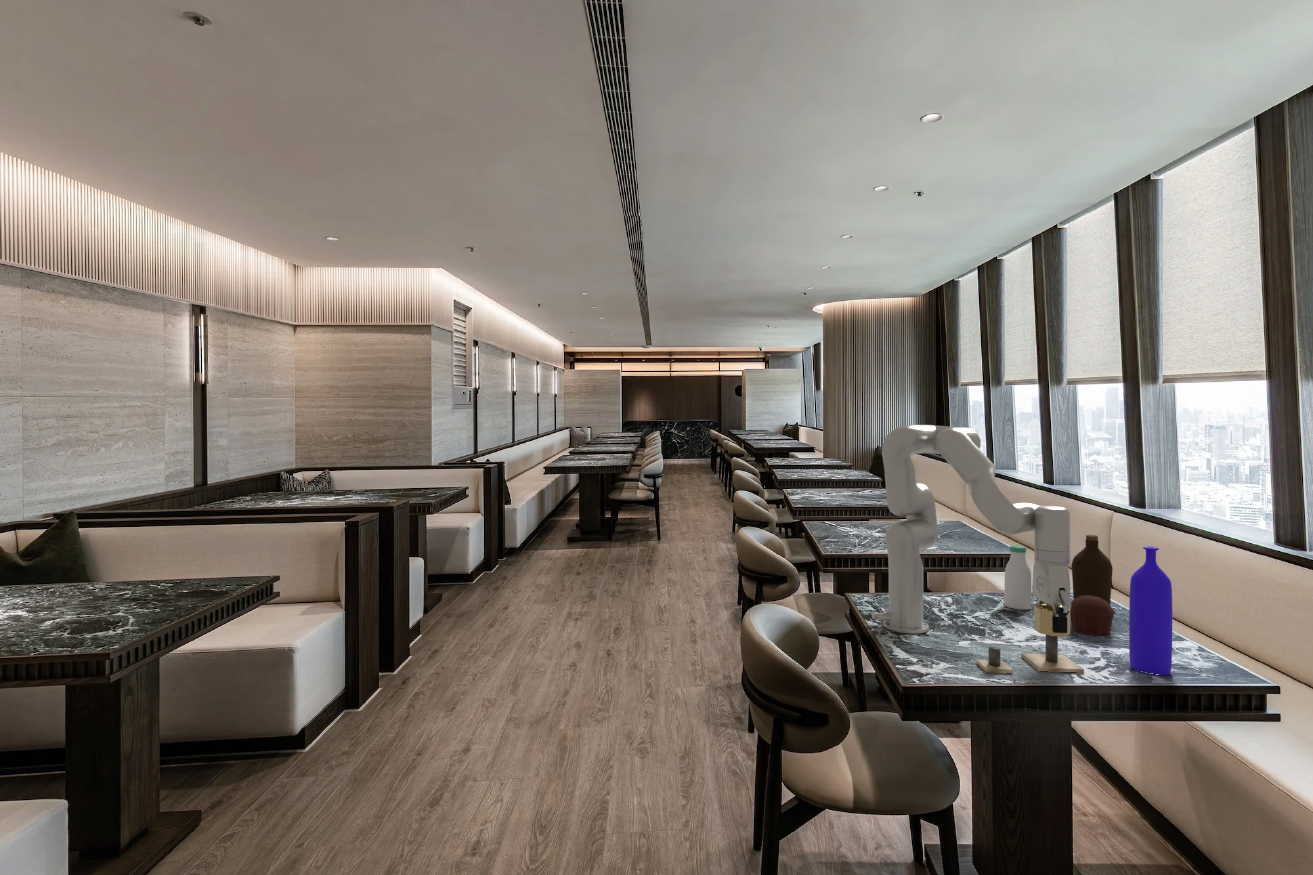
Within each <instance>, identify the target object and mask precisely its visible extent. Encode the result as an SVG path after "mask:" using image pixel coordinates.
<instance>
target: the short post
mask: <svg viewBox="0 0 1313 875" xmlns="http://www.w3.org/2000/svg"><path fill="white" fill-rule="evenodd" d="M987 650H988V659H976V664H977V665H978V666H979V667H980V668H981V669H982V670H983V671H984V672H985V673H986V672H987V674H1006V673H1013V670H1014V669H1013V668H1011V667H1010V666H1009V665H1008V664H1007V663H1006V662H1005V661H1003V660H1001V648H1000V647H997V646H988V649H987ZM988 672H989V673H988Z"/></svg>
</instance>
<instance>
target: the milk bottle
mask: <svg viewBox="0 0 1313 875" xmlns="http://www.w3.org/2000/svg"><path fill="white" fill-rule="evenodd" d="M1009 553H1010V556H1009V560H1008V561H1007V563H1006V566H1005V570H1004V606H1005V607H1006V606H1007V607H1006V608H1009V609H1012V608H1013V609H1014V610H1018V611H1019V610H1021V611H1028V610H1031V609H1032V601H1033V600H1032V597H1033V594H1032V570H1031V567H1030V565H1029V563H1028V561H1027V558H1026V555H1027V547H1026V546H1023V545H1010V546H1009ZM1013 609H1012V610H1013Z"/></svg>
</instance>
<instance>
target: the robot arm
mask: <svg viewBox="0 0 1313 875" xmlns="http://www.w3.org/2000/svg"><path fill="white" fill-rule="evenodd" d="M981 442H982V441H981V438H980V436H979V435H978V433H977V431H975V430H974V429H972V428H970V427H963V426H962V427H961V426H960V427H957V426H946V425H933V424H906V425H901V426H898V427H896V428H894V429H893V430H891V431H889V433H888V434H887V435H886V436H885V438H884V440H883V443H882V446H881V455H882V463H883V469H884V470H883V471H884V481H885V492H886V494H885V495H886V503H887V507H888V510H889V512H891V513H892V514H893V515H895V516H898V517H905V518H906V519H904V520H900V521H896V522H894V523H892V524H891V525H890V526H889V527H888V528H887V531H886V533H885V544H886V545H885V546H886V550H887V557H888V558H887V559H888V560H887V561H888V608H886V609H885V611H883V612H871V617H872V620H878V621H881V622H883V625H882V626H883V627H884V628H885V629H887V630H889V631H892V632H896V633H901V634H909V635H911V634H915V635H917V634H924V633H926V632H928V631H929V630H930V626H929V624H928V623H927V622H925V621H924V564H923V561H922V557H921V553H920V551H924V550H925V551H926V550H928V549H930V548H932V547H933V546H934V545H935V544H936V542H937V539H938V535H939V534H938V531H939V530H938V528H939V527H938V520H937V519H938V518H937V508H936V500H935V497H934V493H933V492H932V490H931V489H930V487H929V486H927V485H926V484H924V483H921V482H917V479H916V469H915V465H914V463H913V460H912V459H911V456H913V455H914V454H936V455H941V456H942V458H944V460H945V461H946V463H947V464H949V465H950V467H951V468H952V469H953V471H955V472H956V473H957V474H958V476H959V477H960V478H961V479H962V480H963V481H964V483H965V484H966V485H967V487H968V490H969V494H970V496H971V499H972V501H973V503H974V504H975V506H976V508H977V509H978V510H979V512H980V513H981V514H982V516H984V517H985V519H986V520H987V521H988V522H989V523H990V524H991V525H992V526H993V527H994V529H996V530H997V531H998V532H1000V533H1002V534H1005V535H1008V536H1009V535H1010V536H1013V535H1019V534H1023V533H1028V532H1034V533H1033V534H1034V538H1033V540H1034V543H1033V544H1034V560H1033V561H1034V563H1033V572H1032V580H1031V583H1032V597H1034V598H1036V605H1038V604H1048V605H1052V608H1053V612H1054V616H1052V631H1053V632H1054V633H1067V617H1068V613H1069V610H1070V608H1071V580H1070V570H1069V565H1071V514H1070V511H1069V509H1067V508H1066V507H1063V506H1057V505H1038V504H1035V503H1029V502H1016V503H1012V502H1011V501H1010V500H1009V499H1008V498H1007V497H1006V496H1005V494H1004V493H1003V492H1002V491H1001V489H1000V488H999V486H998V484H997V483H996V482H997V481H996V478H995V477H996V471H997V470H996V466H995V464H994V463H993V462H992V461H991V460H990V459H989V457H988V456H986V454H984V452H983V451H982V450H981V449H980V448H981V444H982V443H981ZM1057 607H1060V608H1059V610H1058V609H1057ZM1061 607H1062V608H1061Z"/></svg>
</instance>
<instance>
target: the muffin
mask: <svg viewBox="0 0 1313 875" xmlns="http://www.w3.org/2000/svg"><path fill="white" fill-rule="evenodd" d="M1070 603H1071V608H1070V624H1071V627H1072V628H1071V629H1072V630H1074V631H1075V632H1076V633H1079V634H1084V635H1086V636H1095V637H1107V636H1108V635H1110V633H1111V629H1112V626H1113V620H1114V615H1115V614H1116V612H1115V610H1114V608H1113V607H1112V606H1111V604H1110V605H1109V603H1107V602H1106V601H1105V600H1103V599H1101V598H1099V597H1096V596H1091V595H1084V596H1080V597H1077V598H1075V599H1074V600H1073V599H1072V600H1071V601H1070Z"/></svg>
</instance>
